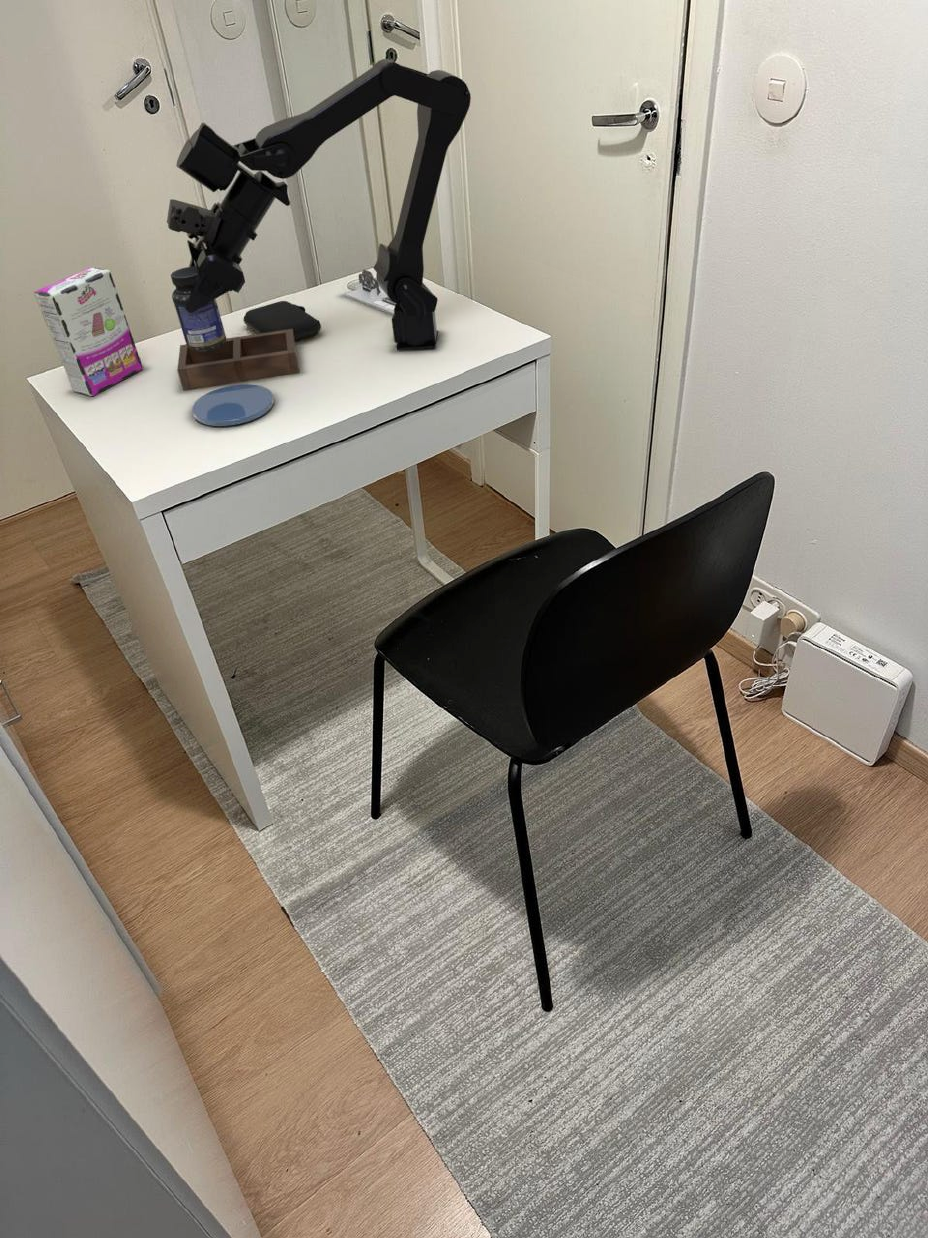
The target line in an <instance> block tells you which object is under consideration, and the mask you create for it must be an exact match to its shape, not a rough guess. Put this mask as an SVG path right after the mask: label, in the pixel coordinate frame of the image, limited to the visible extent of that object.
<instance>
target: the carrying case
mask: <svg viewBox="0 0 928 1238" xmlns="http://www.w3.org/2000/svg"><path fill="white" fill-rule="evenodd" d="M242 320H243V323H244V324H245V325H246V327H248V328H249V329H251V330H252V331H254V332H255V334H261V333H268V332H274V331H281V330H287V329H293V334H294V339H295V344H296V343H298V342H302V341H306V340H309V339H311V338H315V337H316V336H318V335H319V332H321V330H322V324H321V322H320V320H319V319H317V318H315V317H313V316H312V315H311V314H309V313H308V312H306V308H305V306H302V305H297V304H295V303H291V302H289V301H288V300H279V301H276V302H273V303H270V304H266V305H263V306H259V307H256V308H253V309H249V310H247V311H246V312H245V314H244V316H243V319H242Z"/></svg>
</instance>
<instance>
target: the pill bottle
mask: <svg viewBox="0 0 928 1238" xmlns="http://www.w3.org/2000/svg"><path fill="white" fill-rule="evenodd" d="M170 278H171V283H172V284H173V286H174V287H175V289H174V290H173V292H172V295H171V298H172V302H173V305H174V306H173V307H174V308H175V312H176V316H177V319H178V322H179V325H180V328H181V333H182V335H183V338H184V342H185V344H186V345H187V347H188V348H189V349H191V350H193V351H209V350H212V349H215V348H218V347H220V346H222V345H223V344H224V343H225V342H226V338H227V335H226V332H225V331H226V330H225V327H224V324H223V320H222V317H221V313H220V310H219V306H218V302H217V298H216V299H214V300H213V301H211V302H209V303H208V304H206V305H204V306H203V307H201V308H199V309H198V310H196V311H195V312H193V313H190V312H188V311H186V309H185V307H186V304H187V301H188V299H189V296H190V293H191V291H192V288H193V286H194V283H195V281H196V278H197V271H196V267H189V266H187V267H183V268H182V267H181V268H179V269H176V270H174V271H172V272H171V274H170Z"/></svg>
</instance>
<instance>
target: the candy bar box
mask: <svg viewBox="0 0 928 1238" xmlns="http://www.w3.org/2000/svg"><path fill="white" fill-rule="evenodd" d="M33 294H34V296H35V299H36V301H37V303H38V307H39V309H40V311H41V313H42V316H43V319H44V321H45V324H46V326H47V329H48V331H49V333H50V336H51V338H52V341H53V343H54V346H55V349H56V351H57V354H58V355H59V358H60V361H61V364H62V365H63V368H64V371H65V374H66V376H67V378H68V381H69V383H70V386H71V388H72V390H73V392H74V393H77V394H81V395H85V396H89V397H94V396H96V395H98V394H100V393H102V392H104V391H105V390H107V389H109V388H111V387H113V386H114V385H116V384H118V383H120V382H122V381H123V380H126V379H127V378H130V377H131V376H133V375H134V374H136V373H138V372H140V371H142V370H143V369H144V366H143V364H142V360H141V358H140V355H139V352H138V349H137V346H136V343H135V340H134V337H133V335H132V332H131V328H130V326H129V323H128V321H127V316H126V314H125V311H124V308H123V306H122V302H121V298H120V296H119V294H118V290H117V288H116V284H115V281H114V278H113V275H112V273H111V270H110V269H105V268H99V267H95V266H90V267H88V268H86V269H83V270H80V271H78V272H75V273H74V274H72V275H69V276H67V277H65V278H63V279H60V280H58V281H55V282H53V283H51V284H49V285H47V286H44V287H42V288H40V289H37V290H35V291H34V292H33Z"/></svg>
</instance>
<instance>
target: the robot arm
mask: <svg viewBox="0 0 928 1238" xmlns="http://www.w3.org/2000/svg"><path fill="white" fill-rule="evenodd" d="M394 96H395V97H399V98H401V99H404V100H407V101H410V102H413V103H415V104H417V110H416V116H417V117H416V118H417V119H416V120H417V141H416V146H415V152H414V155H413V158H412V163H411V167H410V170H409V175H408V180H407V183H406V189H405V192H404V196H403V200H402V205H401V209H400V214H399V218H398V222H397V225H396V230H395V234H394V236H393V238H392V240H391V241H390V242H389V244H388V245H385V244H383V243H379V245H378V253H377V254H378V255H377V260H376V262H375V264H374V266H373V270H374V271H375V272H376V276H375V279H376V280H377V282H378V284H379V286H380V287H381V288H382V290H383V291H384V292H385V293H386V295H387V296H388V297H389V298H390V300H392V301H393V302H394V303H396V305H395V308H394V314H393V315H391V316H392V317H391V326H392V327H391V328H392V333H393V334H392V335H393V342H394V343H395V344H396V346H395V349H396V350H397V351H416V350H434V349H436V348H437V345H438V339H439V335H440V332H439V330H438V329H437V320H436V310H437V305H438V297H437V296H436V295H435V294H434V293H433V292H432V290H431V289H430V288H428V287H427V286H426V284H425V283H424V272H425V271H424V270H425V266H424V249H423V248H424V242H425V238H426V236H427V235H426V234H427V230H428V226H429V224H430V223H429V222H430V218H431V215H432V212H433V211H432V210H433V207H434V203H435V199H436V197H437V196H436V195H437V191H438V187H439V183H440V180H441V175H442V171H443V168H444V163H445V161H446V160H445V159H446V156H447V152H448V149H449V147H450V145H451V144H452V142H453V141H454V139H455V138H456V137H457V135H458V133H459V132H460V131H461V129H462V126H463V123H464V122H465V119H466V116H467V115H468V114H467V113H468V112H469V109H470V106H471V99H472V97H471V92H470V90H469V88H468V85H467V83H465V81H464V80H463V79H462V78H460V77H458V76H457V75H454V74H452V73H449V72H447V71H446V70H442V69H436V70H431V71H430V72H429V73H425V72H423V71H421V70H418V69H414V68H411V67H408V66H405V65H402V64H399V63H398V62H396V61H394V60H391V59H389V58H382V59H380V60H378V61H377V62H376V63H375V64H374V65H373V66H372V67H371V68H370V69H368V70H366V71H365V72H363V73H362V74H361V75H359V76H358V77H356V78H355V79H353V80H352V81H350V82H349V83H348V84H346V85H344V86H343V87H341V88H340V89H338V90H337V91H335V92H334V93H332V94H331V95H329V96H328V97H327V98H325V99H323V100H322V101H320V102H319V103H318V104H316V105H315V106H313V107H312V108H310V109H309V110H307V111H304V112H302V113H300V114H297V115H293V116H290V117H285V118H283V119H281V120H278V121H276V122H273V123H271V124H268V125H266V126H264V127H263V128H261V130H259V132H257V134H256V136H255V137H254V138H251V139H248V140H245V141H242V142H239V143H236V144H233V145H232V144H231V143H229V141H227V140H225V139H224V138H222V136H221V135H219V134H218V133H217V132H215V130H214V129H213V128H212V127H211V126H209V125H208V124H207V123H205V122H201V124H200V125H199V127H198V128H197V129H196V130H195V131H194V132H193V134H192V135H191V136H190V138H188V139H186V141H185V143H184V145H183V147H182V149H181V151H180V152H179V154H178V157H177V160H176V167H177V169H179V170H181V172H183V173H185V174H187V175H188V176H189V177H191V178H192V179H193V180H195V181H196V182H198V183H199V184H200V185H202V186H203V187H205V188H206V189H208V190H209V191H210V192H212V193H216V192H218V190H219V191H220V192H222V191H226V190H227V189H228V188H229V189H228V191H227V192H226V194H225V196H224V198H223V199H222V200H221V202H219V201H217V203H216V202H215V203H213V205H212V207H211V208H210V209H208V208H205V207H202V206H199V205H196V204H192V203H188V202H185V201H183V200H182V201H181V200H178V199H174V198H173V199H171V198H170V199H169V205H168V210H167V219H166V223H167V226H168V229H169V230H171V231H173V232H175V233H181V232H182V233H186V236H187V238H189V239H190V240H189V239H187V240H186V243H187V247H188V250H189V254H190V261H189V265H188V267H196V271H197V278H196V281H195V283H194V286H193V288H192V291H191V293H190V296H189V299H188V301H187V304H186V307H185V309H186V311H188V312H190V313H193V312H195V311H196V310H198V309H199V308H201V307H203V306H204V305H206V304H208V303H209V302H211V301H213V300H214V299H216V300H217V299H218V298H220V297H222V296H223V295H225V294H227V293H229V292H235V293H237V294H239V293H240V291H241V290H242V288H243V286H244V285H245V283H246V278H245V275H244V272H243V269H242V267H241V266H240V264H241V263H242V261H243V258H242V256H241V255H242V253H243V252H244V250H245V249H246V247H247V245H248V243H249V242H250V240H252V241H254V242H255V240H256V238H257V237H258V233H257V232H256V231H257V229H258V227H259V226H260V224H261V222H262V221H263V219H264V218H265V216H266V214H267V212H268V211H269V210H270V208H271V207H272V205H273V203H274V201H275V200H278V201H279V202H280V203H282V204H283V205H285V206H286V207H289V206H290V205H291V200H290V197H289V193H288V188H289V186H288V184H287V183H286V182H285V180H284V179H289V178H291V177H293V176H294V175H296V174H297V173H298V172H299V171H300V170H301V169H302V168H303V167H304V166H306V164H307V163H308V162H309V161H310V160H311V159H312V158H313V156H314V155H315V154H316V152H317V151H318V149H319V148H320V147H321V146H322V145H323V144H324V143H325V142H326V141H327V140H329V139H331V138H332V137H333V136H335V135H337V134H338V133H339V132H341V131H342V130H344V129H345V128H347V127H348V126H350V125H351V124H353V123H354V122H356V121H357V120H359V119H360V118H362V117H363V116H365V115H366V114H368V113H369V112H371V111H372V110H374V109H375V108H376V107H378V106H380V105H381V104H383V103H384V102H385V101H387V100H388V99H391V98H392V97H394ZM240 163H241V164H242V165H243V166H242V165H241V164H240ZM244 166H245V167H244ZM246 167H247V168H246ZM248 169H249V170H248ZM251 171H255V172H256V173H253V172H251ZM264 172H266V173H268V174H269V175H271V176H272V177H274V178H277V179H282V181H279V182H276V181H275V180H273V178H271V177H270V176H268V175H267V174H266V173H264ZM237 173H238V174H237ZM236 175H237V176H236ZM283 180H284V181H283ZM193 239H194V240H193ZM191 240H193V242H192V241H191Z"/></svg>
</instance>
